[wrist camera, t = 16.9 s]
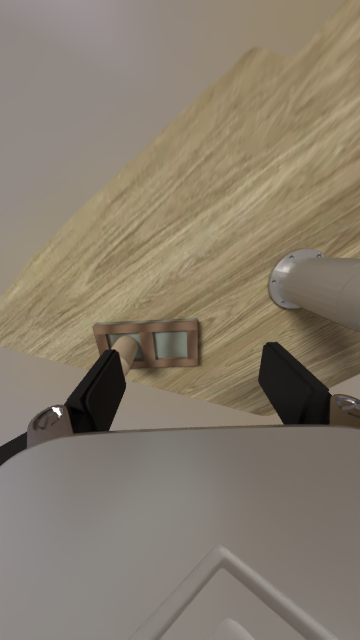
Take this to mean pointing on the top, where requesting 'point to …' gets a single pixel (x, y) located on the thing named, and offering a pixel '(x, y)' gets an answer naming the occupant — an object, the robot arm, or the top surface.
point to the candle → (126, 351)
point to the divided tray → (154, 341)
